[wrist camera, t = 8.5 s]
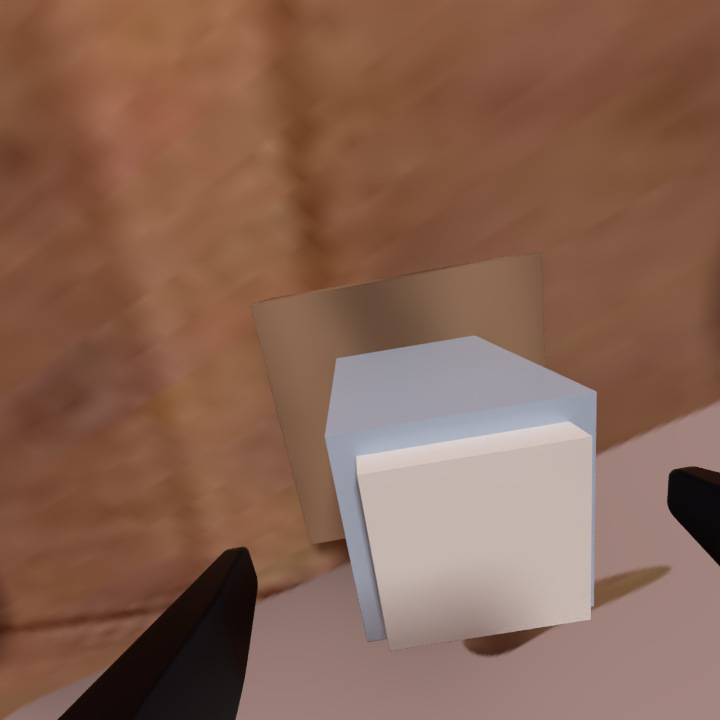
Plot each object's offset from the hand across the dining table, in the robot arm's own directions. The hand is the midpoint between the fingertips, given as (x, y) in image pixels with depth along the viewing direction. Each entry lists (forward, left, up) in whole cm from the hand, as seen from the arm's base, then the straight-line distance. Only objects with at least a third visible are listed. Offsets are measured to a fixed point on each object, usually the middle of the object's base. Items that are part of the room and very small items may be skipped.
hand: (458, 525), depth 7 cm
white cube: (0, 0, -6) cm, 6 cm away
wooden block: (0, 0, -9) cm, 9 cm away
